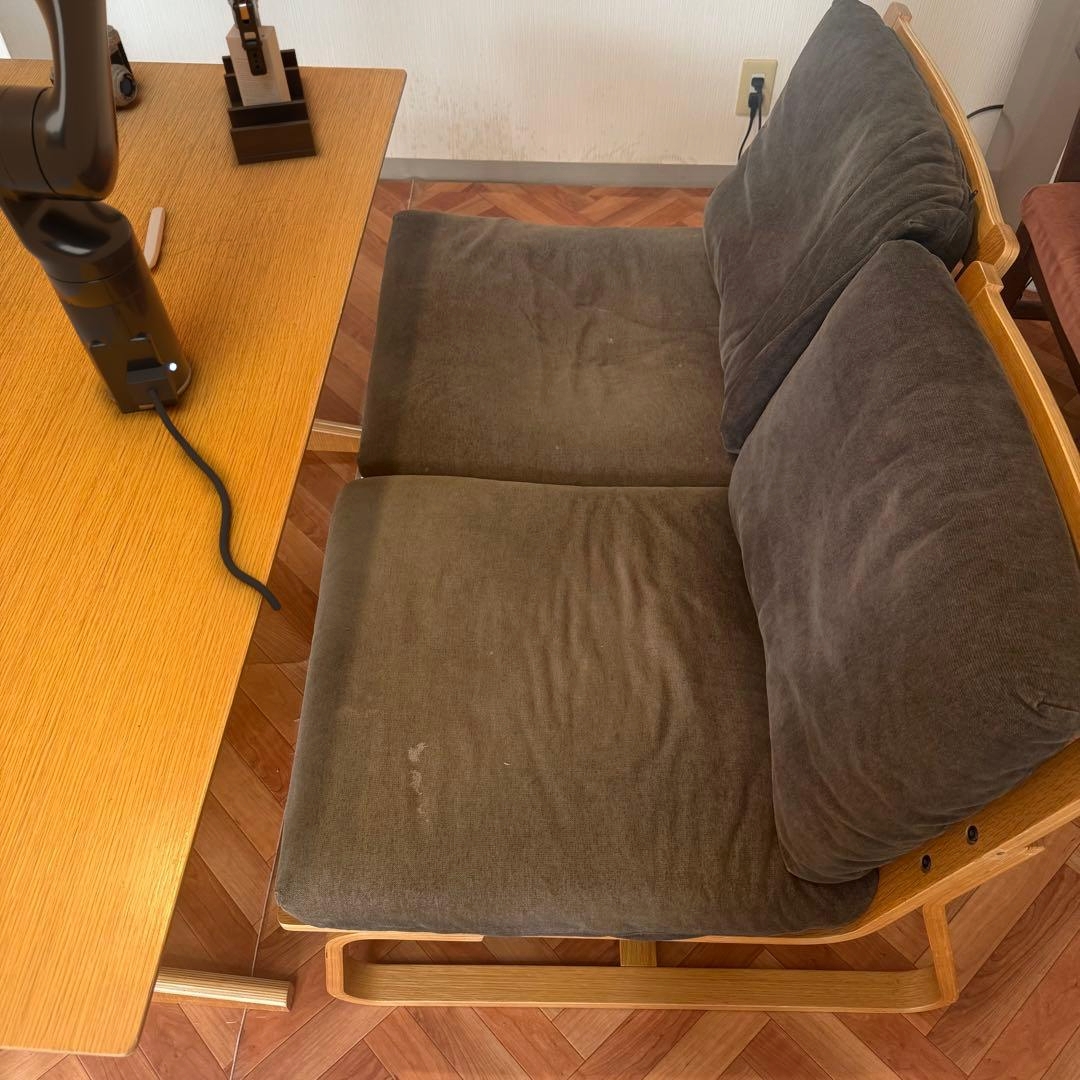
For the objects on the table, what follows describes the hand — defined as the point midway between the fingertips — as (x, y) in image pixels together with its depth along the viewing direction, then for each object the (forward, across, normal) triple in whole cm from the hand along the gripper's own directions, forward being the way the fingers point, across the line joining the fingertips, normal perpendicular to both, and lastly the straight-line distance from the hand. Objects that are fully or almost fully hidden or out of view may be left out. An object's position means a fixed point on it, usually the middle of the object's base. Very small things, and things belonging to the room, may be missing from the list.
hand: (257, 60), depth 127 cm
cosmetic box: (+8, 0, 0) cm, 8 cm away
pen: (+9, +27, -17) cm, 33 cm away
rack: (+9, 0, 0) cm, 9 cm away
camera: (+9, -9, -23) cm, 26 cm away
